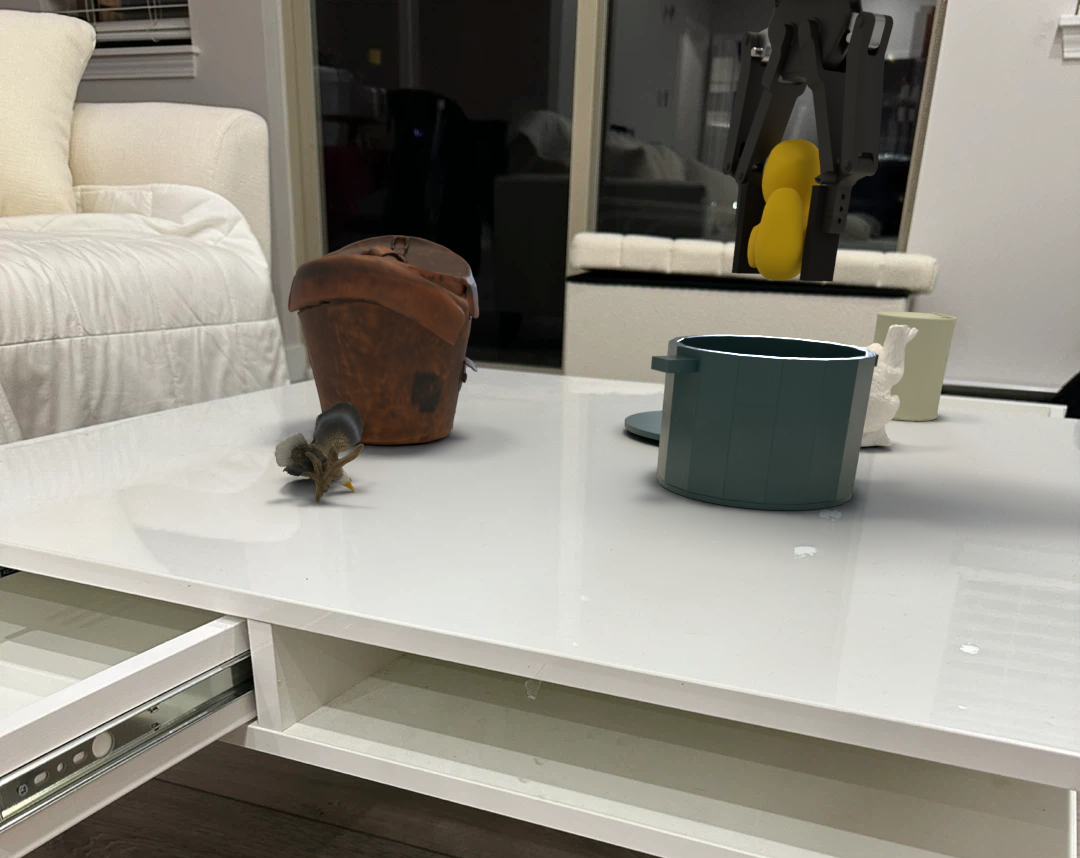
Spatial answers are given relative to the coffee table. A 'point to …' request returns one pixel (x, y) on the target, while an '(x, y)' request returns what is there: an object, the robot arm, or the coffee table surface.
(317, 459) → the eagle figurine
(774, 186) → the duckling
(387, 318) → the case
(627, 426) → the lid
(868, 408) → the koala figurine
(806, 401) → the pot
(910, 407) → the green tapered cup
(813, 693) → the coffee table surface
